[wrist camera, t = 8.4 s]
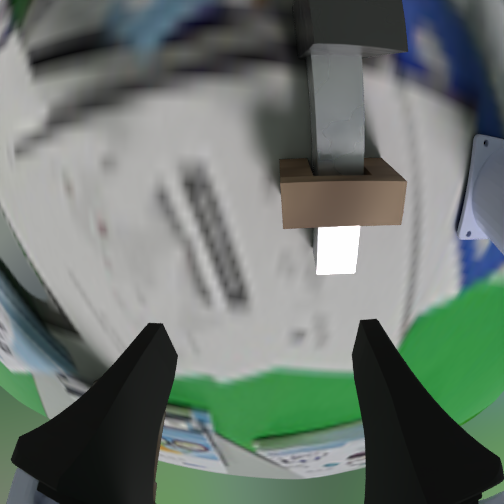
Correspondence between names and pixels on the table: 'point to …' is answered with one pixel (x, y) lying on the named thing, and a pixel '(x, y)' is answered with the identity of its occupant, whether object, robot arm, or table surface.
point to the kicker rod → (342, 96)
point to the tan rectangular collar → (341, 196)
